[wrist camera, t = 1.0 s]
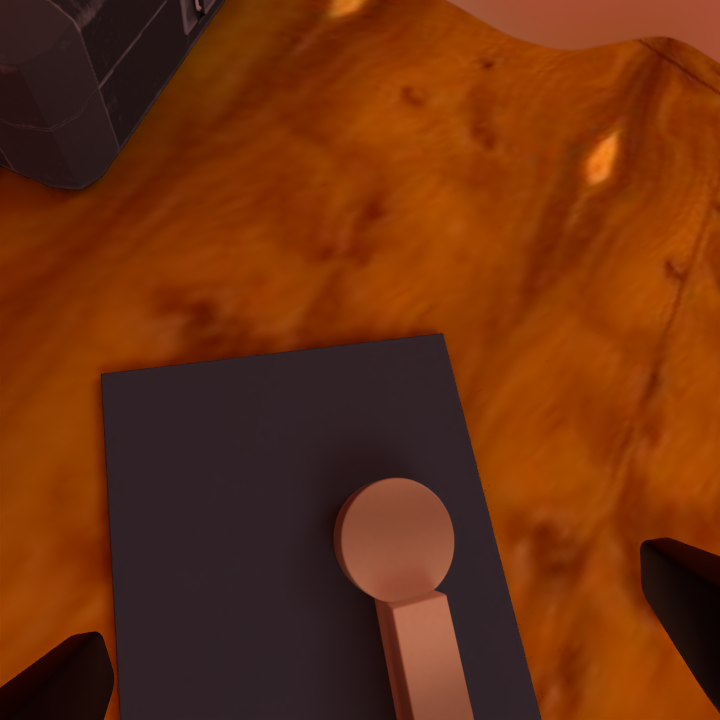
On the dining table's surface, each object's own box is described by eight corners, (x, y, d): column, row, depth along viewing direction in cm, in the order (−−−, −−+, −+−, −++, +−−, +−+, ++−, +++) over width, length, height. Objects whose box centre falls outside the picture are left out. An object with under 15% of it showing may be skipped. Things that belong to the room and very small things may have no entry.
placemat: (569, 847, 20) (575, 853, 19) (141, 1040, 15) (138, 1053, 15) (440, 335, 25) (443, 332, 25) (103, 376, 21) (100, 373, 21)
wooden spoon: (509, 838, 19) (550, 889, 16) (392, 888, 18) (416, 951, 15) (425, 471, 23) (448, 465, 20) (324, 491, 21) (335, 487, 19)
